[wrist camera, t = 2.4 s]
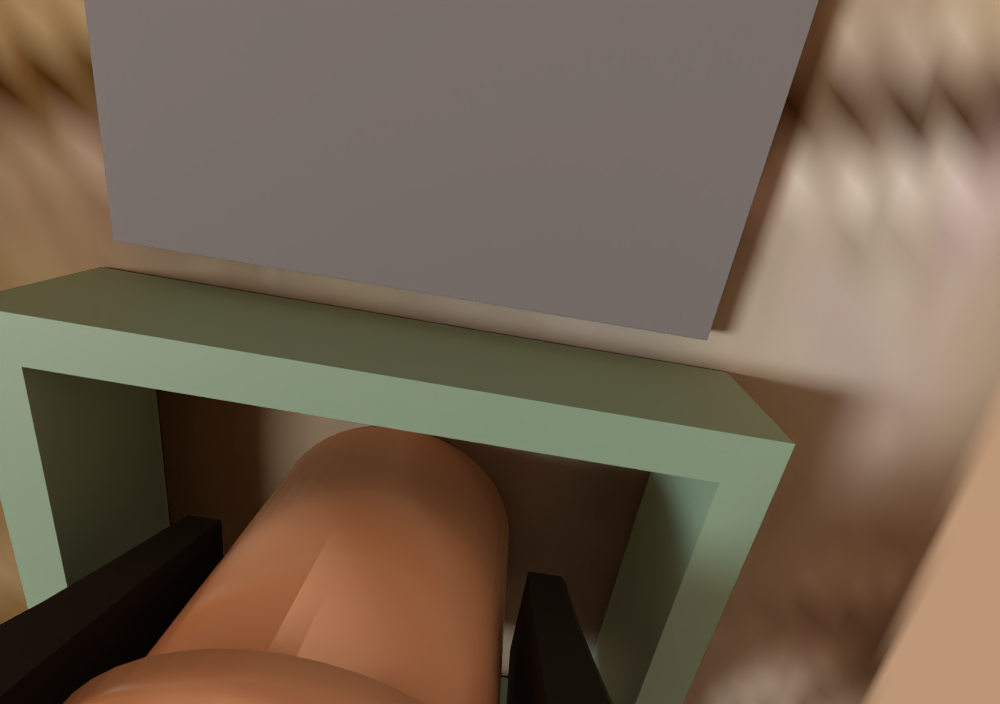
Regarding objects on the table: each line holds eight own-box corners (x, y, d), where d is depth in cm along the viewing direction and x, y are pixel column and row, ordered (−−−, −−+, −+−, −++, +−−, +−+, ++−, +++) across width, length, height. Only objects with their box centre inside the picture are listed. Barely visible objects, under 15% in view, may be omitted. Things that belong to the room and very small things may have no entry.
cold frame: (605, 716, 13) (623, 842, 10) (150, 642, 12) (63, 751, 10) (726, 372, 9) (795, 444, 7) (100, 267, 9) (-49, 303, 7)
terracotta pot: (504, 644, 12) (480, 1093, 6) (264, 604, 12) (14, 1019, 6) (550, 434, 10) (583, 819, 4) (260, 386, 10) (-123, 702, 4)
